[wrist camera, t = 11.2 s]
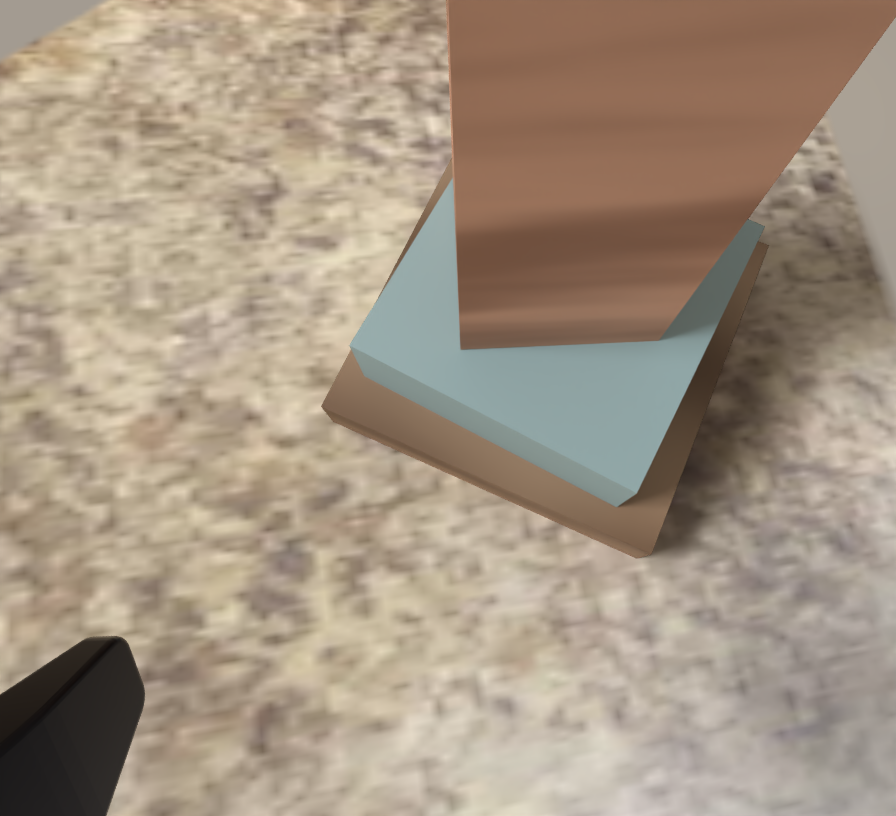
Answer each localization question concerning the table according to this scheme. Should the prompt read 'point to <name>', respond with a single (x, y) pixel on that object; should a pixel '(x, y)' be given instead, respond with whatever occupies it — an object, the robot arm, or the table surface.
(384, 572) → the table surface
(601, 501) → the tower base slab
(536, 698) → the table surface
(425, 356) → the tower top block
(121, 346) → the table surface
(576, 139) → the terracotta block
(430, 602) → the table surface
